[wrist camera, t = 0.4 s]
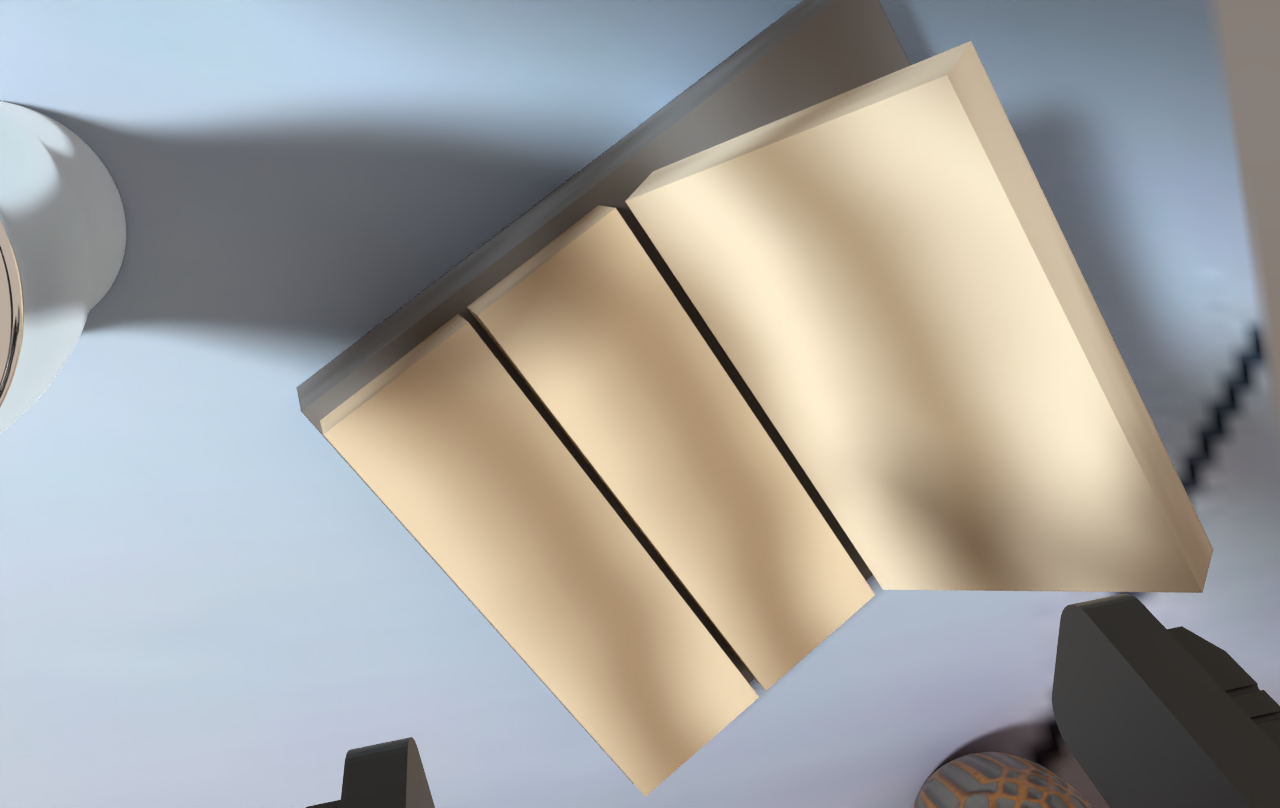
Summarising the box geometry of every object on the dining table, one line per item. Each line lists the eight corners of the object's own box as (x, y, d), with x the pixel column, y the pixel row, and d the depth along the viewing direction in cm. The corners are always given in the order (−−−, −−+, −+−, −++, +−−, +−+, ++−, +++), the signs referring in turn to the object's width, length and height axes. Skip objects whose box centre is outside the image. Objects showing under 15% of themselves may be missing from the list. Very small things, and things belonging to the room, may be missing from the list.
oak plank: (899, 554, 34) (883, 589, 33) (653, 171, 28) (625, 201, 27) (1213, 549, 27) (1202, 592, 26) (971, 40, 21) (946, 74, 21)
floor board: (604, 736, 36) (649, 810, 32) (296, 387, 30) (303, 424, 26) (1020, 377, 39) (1110, 404, 35) (814, -9, 33) (895, -32, 29)
